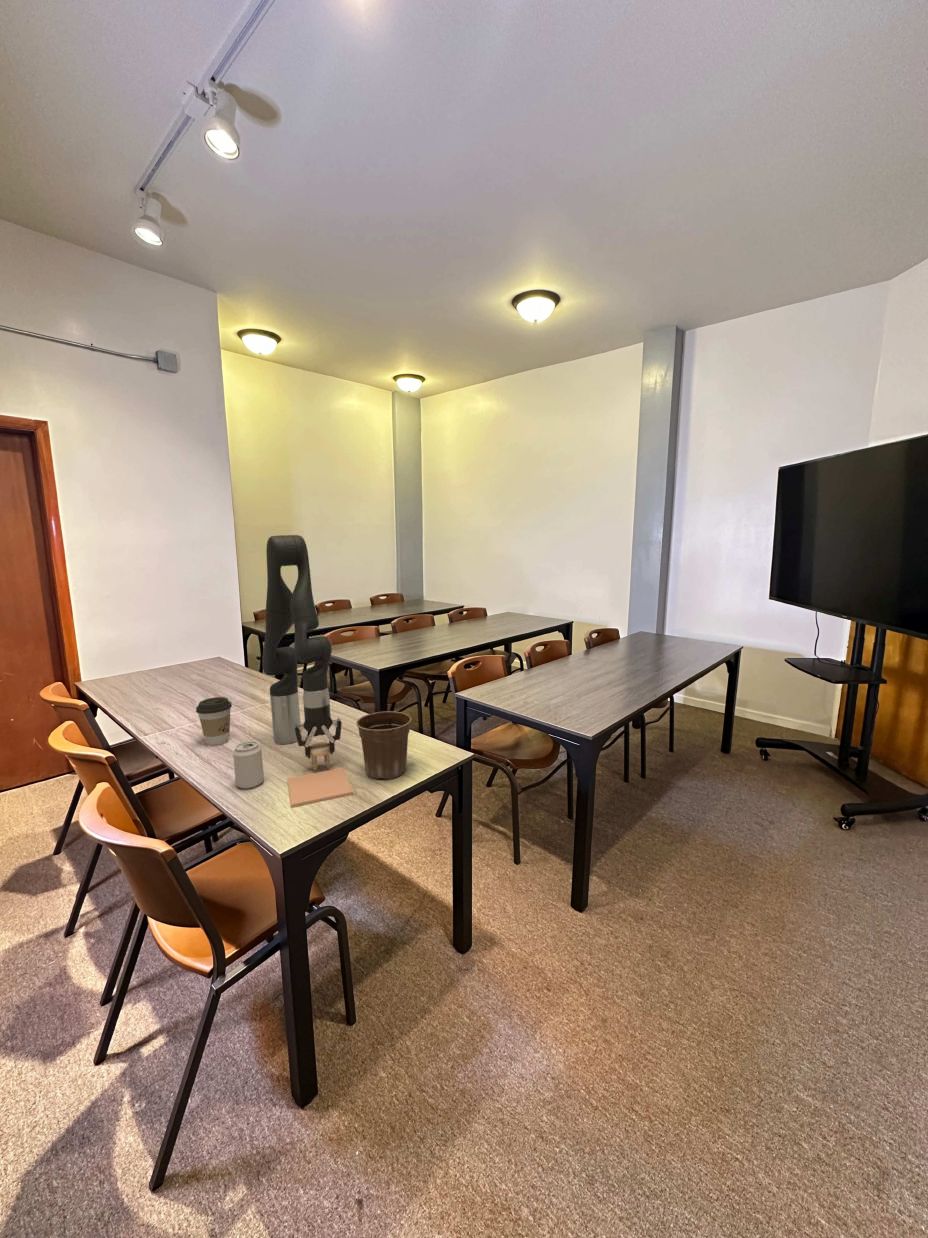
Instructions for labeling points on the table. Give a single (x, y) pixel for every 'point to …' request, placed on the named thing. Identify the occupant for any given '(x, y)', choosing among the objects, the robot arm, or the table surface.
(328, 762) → the stool
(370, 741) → the plant pot
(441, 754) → the table surface
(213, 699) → the coffee cup
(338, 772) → the mat
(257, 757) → the can
